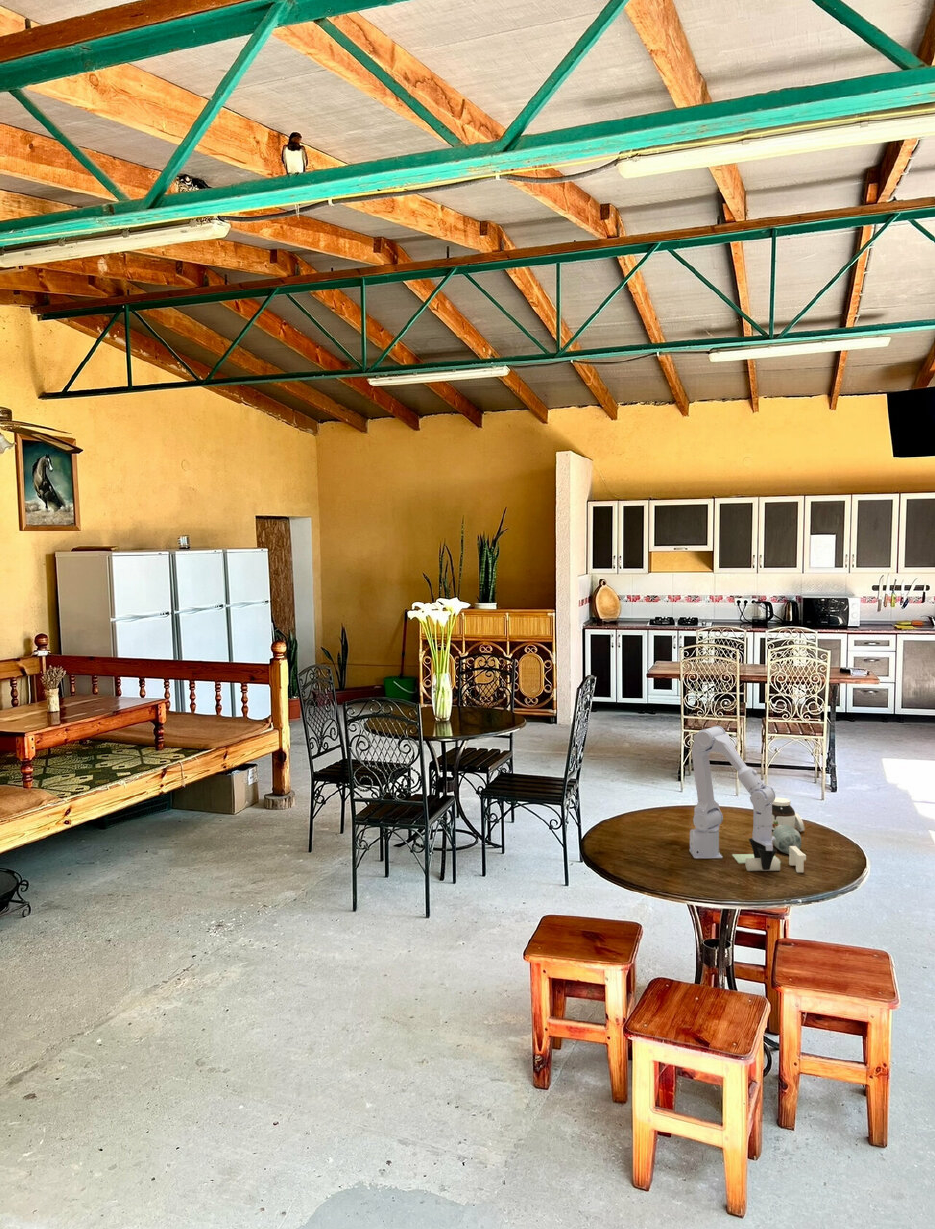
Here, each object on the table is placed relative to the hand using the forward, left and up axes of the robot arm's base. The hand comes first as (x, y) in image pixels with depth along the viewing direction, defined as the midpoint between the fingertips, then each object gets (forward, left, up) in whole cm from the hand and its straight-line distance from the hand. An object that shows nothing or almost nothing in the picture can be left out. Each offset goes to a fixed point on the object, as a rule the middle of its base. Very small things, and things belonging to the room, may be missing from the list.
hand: (762, 865), depth 282 cm
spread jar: (+21, +39, -2) cm, 44 cm away
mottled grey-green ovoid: (+14, +18, -2) cm, 23 cm away
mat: (+1, +9, -1) cm, 10 cm away
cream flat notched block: (+11, 0, -1) cm, 11 cm away
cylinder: (0, 0, -2) cm, 2 cm away
